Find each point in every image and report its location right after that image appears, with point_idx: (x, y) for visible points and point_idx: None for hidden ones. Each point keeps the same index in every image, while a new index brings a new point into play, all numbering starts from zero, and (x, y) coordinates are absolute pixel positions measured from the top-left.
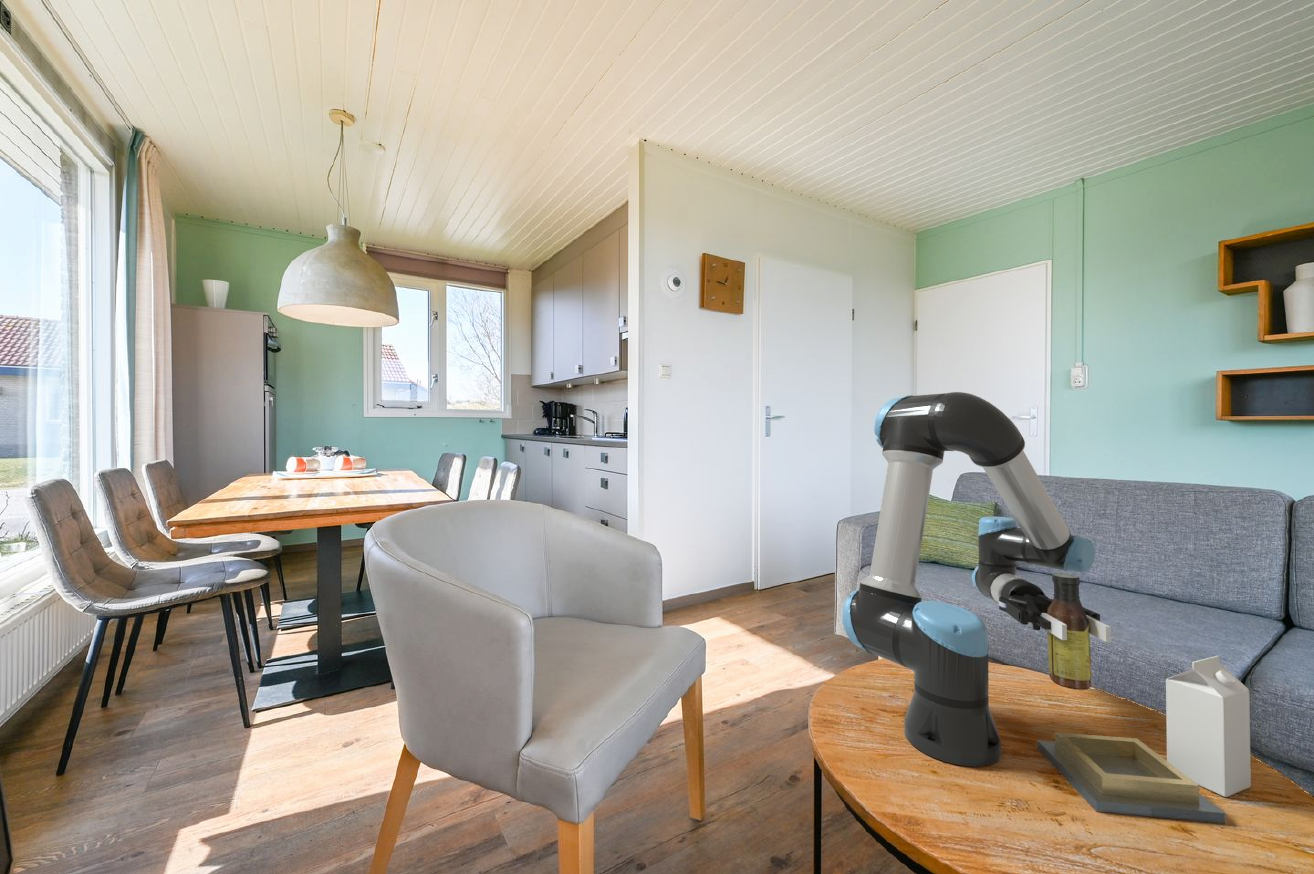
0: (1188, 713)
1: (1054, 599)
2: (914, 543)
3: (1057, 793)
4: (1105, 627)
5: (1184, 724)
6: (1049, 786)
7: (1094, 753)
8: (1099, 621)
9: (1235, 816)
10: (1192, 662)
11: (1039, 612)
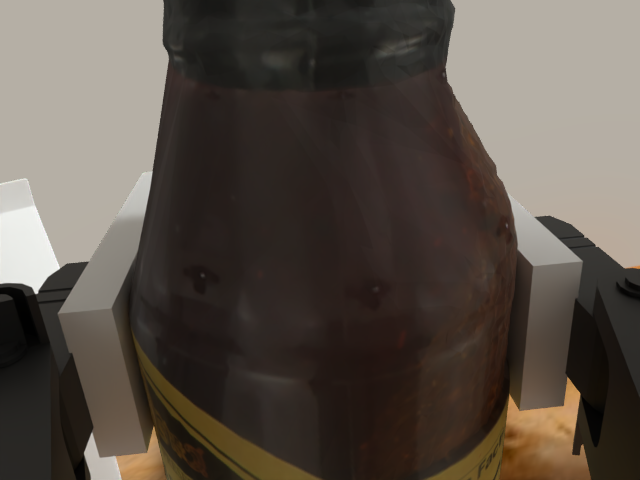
0: None
1: (444, 77)
2: None
3: (510, 413)
4: None
5: None
6: (525, 431)
7: None
8: (120, 215)
9: (154, 431)
10: (27, 180)
11: (605, 296)
